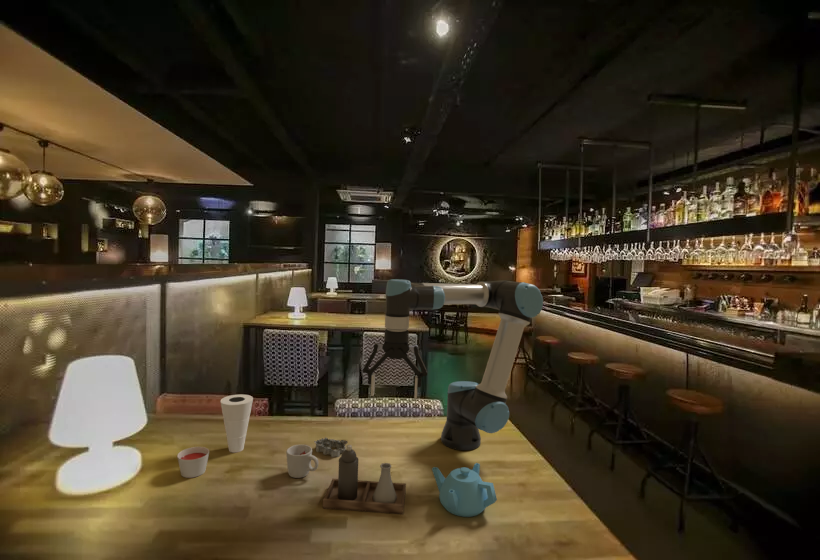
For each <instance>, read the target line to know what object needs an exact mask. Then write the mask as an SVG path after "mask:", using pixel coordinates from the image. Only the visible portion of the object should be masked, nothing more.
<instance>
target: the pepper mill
mask: <svg viewBox="0 0 820 560" xmlns="http://www.w3.org/2000/svg"><path fill="white" fill-rule="evenodd" d="M345 446H346V450H344V451H343V453H341V454H340V456H339V458H338V478H337V479H338V499H339V500H351V501H353V500H355V499H356V498H357V488H358V480H359V457H357V453H356V451H355V450H354V449H353V445H352V444H346V445H345Z"/></svg>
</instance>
